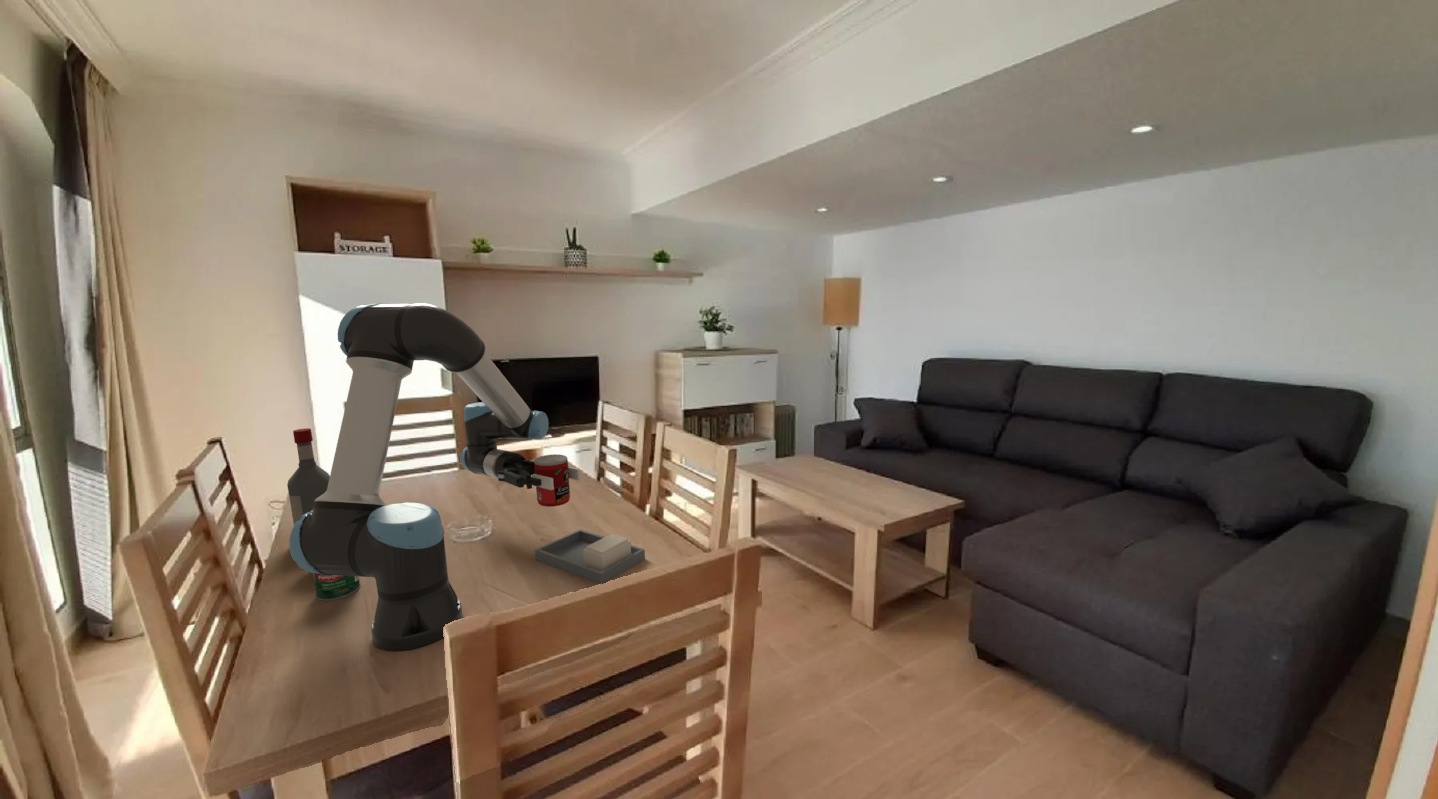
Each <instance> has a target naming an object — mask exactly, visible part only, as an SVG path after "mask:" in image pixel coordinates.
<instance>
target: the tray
mask: <svg viewBox="0 0 1438 799" xmlns="http://www.w3.org/2000/svg"><path fill="white" fill-rule="evenodd" d="M604 537H605V536H602V535H600V534H597V533H594V532H591V531H588V530H584V529H577V530H575V531H573V532H571V533H569V534H566V535H565V536H562V537H561V538H558V539H555V540H554V541H551V542H550V543H547V544H545V545H543V546H541V547H538V548H536V549H534V553H535V554H534V557H535V560H536V561H538V562H541V563H544V564H547V565H548V566H552V567H554V568H557V569H560V570H562V571H565V572H567V573H569V574H570V573H571V574H572V575H575V576H578V577H581V578H583V579H586V580H589V581H591V582H593V583H596V584H599V585H601V583H603V584H605V583H607V582H608V580H609V581H610V580H612V579H613V578H615V577H617V576H619V575H620V574H622V573H624V572H625V571H627V570H629V569H631V568H632V567H634V566H636V565H637V564H639V563H641V562H642V561H644V560H646V555H645V554H646V550H645V548H642V547H638V546H635V545H632V544H631V555H630V556H628V557H626V558H624V559H623V560H621V561H619V562H617V563H615V564H614V565H612V566H610V567H608V568H607V569H605V570H603V571H598V570H595V569H593V568H590V567H587V566H584V553H583V549H585V548H586V546H588V545H590V544H592V543H594V542H596V541H598V540H600V539H602V538H604ZM606 581H607V582H606ZM597 582H598V583H597ZM604 582H605V583H604Z"/></svg>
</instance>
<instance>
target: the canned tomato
mask: <svg viewBox="0 0 1438 799" xmlns="http://www.w3.org/2000/svg"><path fill="white" fill-rule="evenodd" d="M312 576H313V581H314V589H315V596H316V597H317V598H316V599H317V600H318V599H319V601H321V600H331V601H336V600H340V599H343V598H345V597H349V596H350V595H353V594H354V593H355V592H357V591H358V590H359V589H360V588H361V582H360V576H344V575H331V576H325V575H321V574H318V573H312ZM352 593H353V594H352Z"/></svg>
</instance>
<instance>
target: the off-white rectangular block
mask: <svg viewBox="0 0 1438 799" xmlns="http://www.w3.org/2000/svg"><path fill="white" fill-rule="evenodd" d="M631 543H632V542H631V540H629V539H628V538H627V537H623V536H620V535H617V534H614V533H611V534H609V535H606V536H604V538H602V539H600V540H598V541H596V542H594V543H592V544H590V545H588V546H586V548H585V549H583V553H584V566H587V567H590V568H593V569H595V570H598V571H603V570H605V569H607V568H608V567H610V566H612V565H614V564H615V563H617V562H619V561H621V560H623V559H624V558H626V557H628V556H630V555H631V545H632V544H631Z"/></svg>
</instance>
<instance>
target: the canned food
mask: <svg viewBox="0 0 1438 799" xmlns="http://www.w3.org/2000/svg"><path fill="white" fill-rule="evenodd" d="M533 461H534V468H535V474H537V475H541V476H546V477H550V478H553V485H554V489H553V490H549V489H545V488H541V487H537V486H535V490H536V501H537V503H538V505H540V506H542V507H546V508H547V507H558V506H563V505H566V504H567V503H569V501H570V498H571V492H570V489H571V488H570V478H569V472H568V467H569V462H568V461H569V460H568V456H566V455H564V454H546V455H545V454H544V455H540V456H538V457H535V458H534V460H533Z"/></svg>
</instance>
